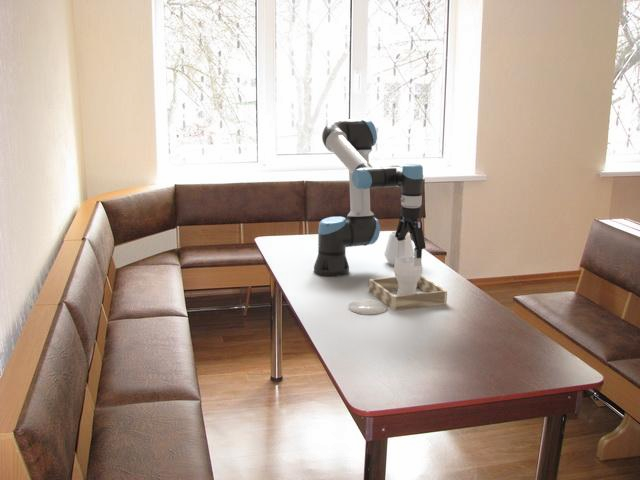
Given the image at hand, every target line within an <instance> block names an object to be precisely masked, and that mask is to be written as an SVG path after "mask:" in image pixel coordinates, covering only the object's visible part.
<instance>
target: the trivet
mask: <svg viewBox="0 0 640 480" xmlns="http://www.w3.org/2000/svg"><path fill="white" fill-rule="evenodd" d="M387 307H388V306H387V305H386V304H385V303H383V302H382V301H378V300H373V299H359V300H355V301H351V302H350V303H348V310H350V311H351V312H352V313H355V314H359V315H363V316H364V315H367V316H368V315H369V316H373V315H379V314H383V313H384V312H386V311H387V309H388V308H387Z"/></svg>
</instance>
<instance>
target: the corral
mask: <svg viewBox="0 0 640 480" xmlns="http://www.w3.org/2000/svg"><path fill="white" fill-rule="evenodd" d="M368 281H369V284H368V292H369V293H370V294H371V295H373V296H375V298H377V299H378V300H379V301H380V302H381V303H384V304H385V305H386V306H387V307H389V308H390V309H391V310H392V311H398V310H406V309H414V308H422V307H431V306H440V305H447V303H448V302H447V299H448V291H447V290H446V289H445V288H443V287H441V286H439V285H438V284H436V283H435V282H433V281H431V280H430V279H428V278H426V277H425V276H423V275H421V277H420V279H419V281H418V282H417V287H416V288H419V289H420V290H421V291H422V292H420V293H417V294H409V295H400V296H397V295H394V294H393V293H392V292H390V291H394V290H398V281H397V279H396V277H395V276H391V277H388V276H387V277H380V278H379V277H378V278H369V280H368Z"/></svg>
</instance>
